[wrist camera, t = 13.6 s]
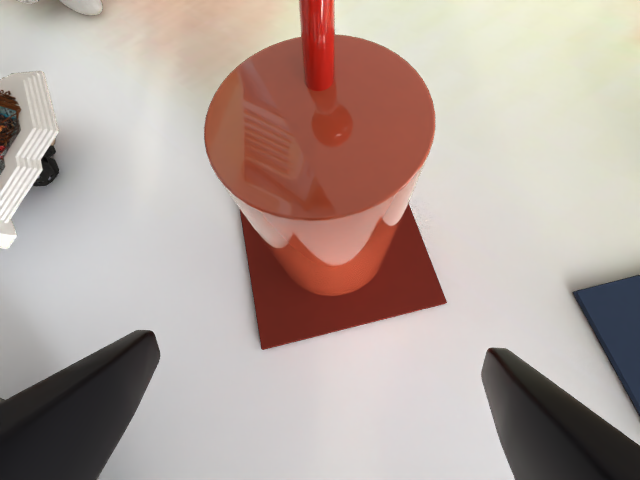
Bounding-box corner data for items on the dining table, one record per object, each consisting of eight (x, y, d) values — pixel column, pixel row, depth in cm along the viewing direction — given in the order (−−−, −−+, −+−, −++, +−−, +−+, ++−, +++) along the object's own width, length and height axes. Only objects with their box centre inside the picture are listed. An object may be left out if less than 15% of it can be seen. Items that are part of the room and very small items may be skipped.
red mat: (262, 349, 16) (261, 349, 16) (237, 189, 20) (236, 187, 20) (445, 303, 16) (447, 302, 16) (387, 153, 20) (387, 150, 20)
